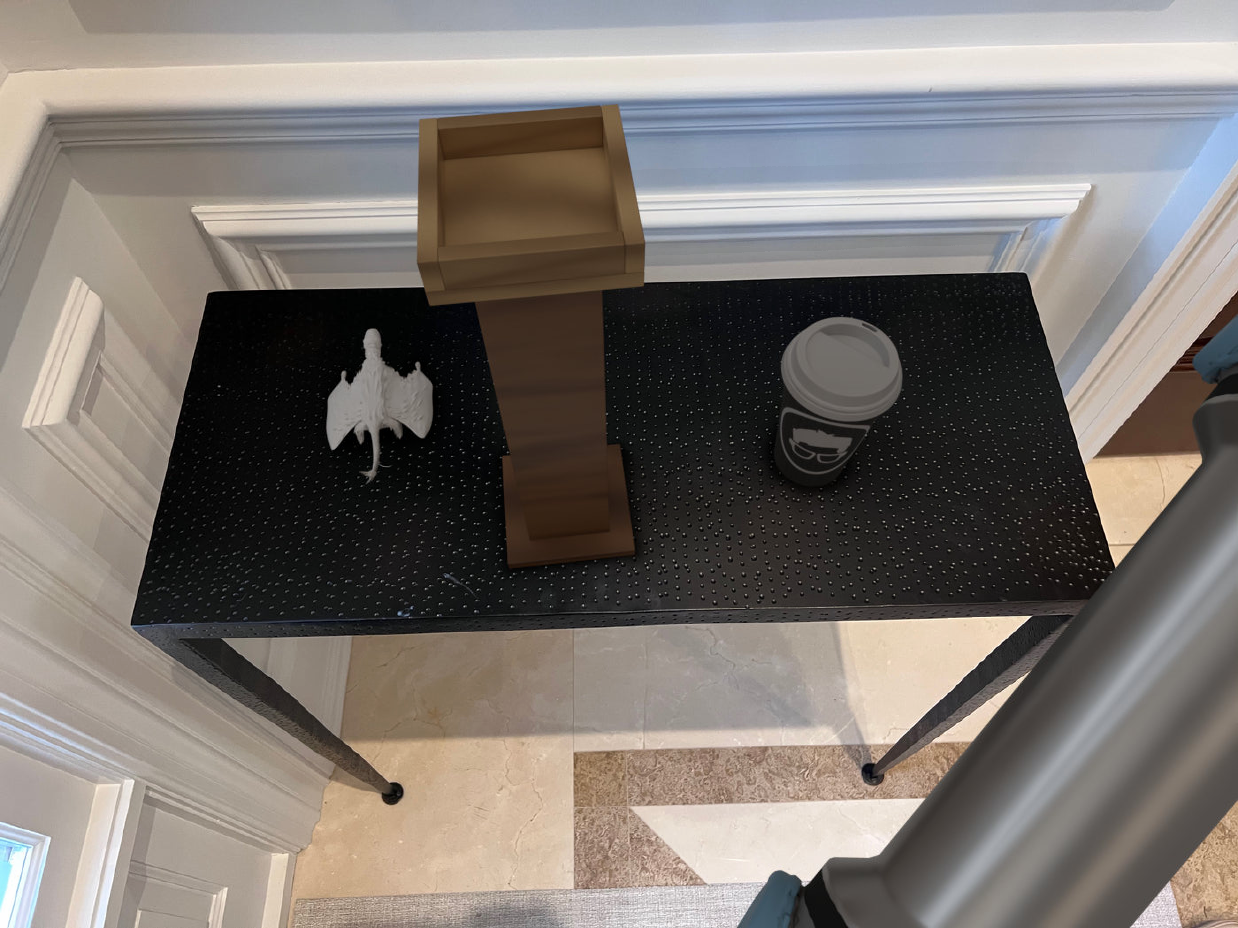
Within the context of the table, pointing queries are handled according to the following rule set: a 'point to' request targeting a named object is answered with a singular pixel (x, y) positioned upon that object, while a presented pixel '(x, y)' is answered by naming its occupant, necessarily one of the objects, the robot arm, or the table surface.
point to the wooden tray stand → (539, 304)
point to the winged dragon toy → (379, 401)
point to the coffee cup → (832, 396)
